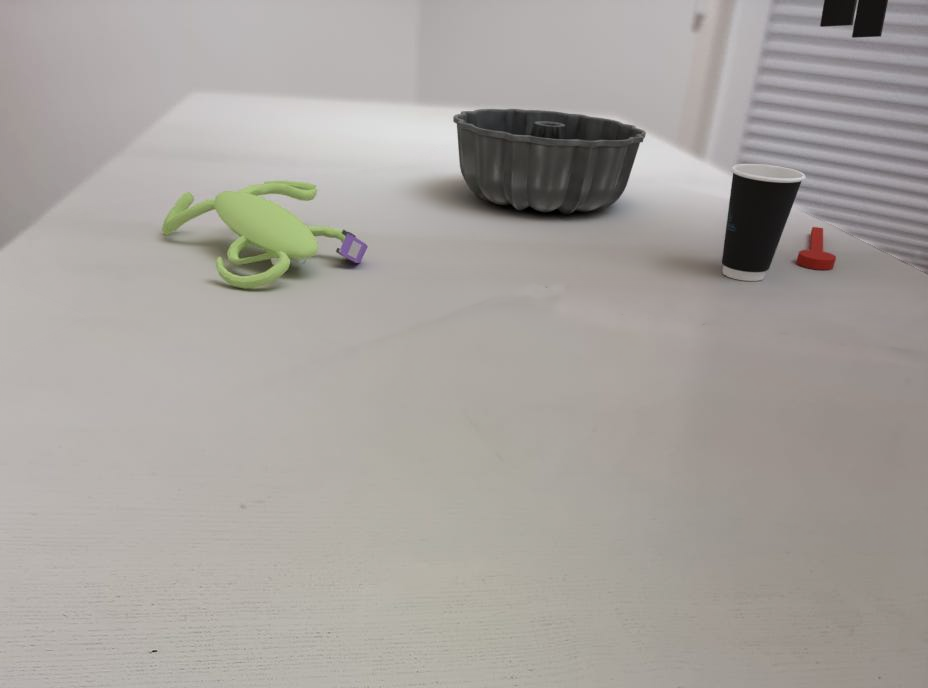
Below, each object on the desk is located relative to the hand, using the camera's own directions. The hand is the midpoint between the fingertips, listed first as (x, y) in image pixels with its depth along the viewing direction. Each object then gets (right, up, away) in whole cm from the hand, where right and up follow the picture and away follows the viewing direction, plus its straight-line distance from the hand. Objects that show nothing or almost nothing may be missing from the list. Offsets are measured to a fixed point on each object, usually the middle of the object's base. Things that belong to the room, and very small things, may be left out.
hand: (852, 32), depth 89 cm
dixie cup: (-5, -17, +18) cm, 25 cm away
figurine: (-60, -15, +15) cm, 64 cm away
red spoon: (+8, -9, +28) cm, 31 cm away
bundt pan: (-26, +4, +42) cm, 50 cm away
